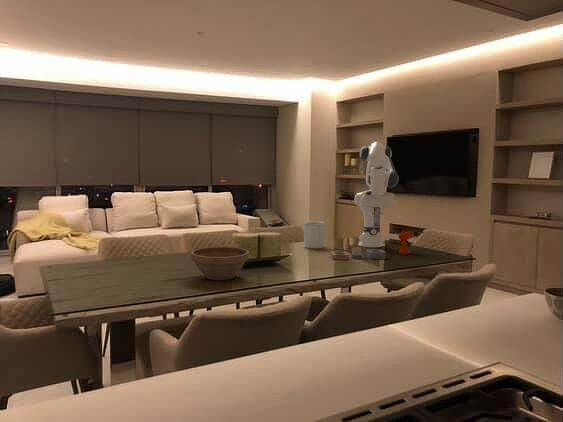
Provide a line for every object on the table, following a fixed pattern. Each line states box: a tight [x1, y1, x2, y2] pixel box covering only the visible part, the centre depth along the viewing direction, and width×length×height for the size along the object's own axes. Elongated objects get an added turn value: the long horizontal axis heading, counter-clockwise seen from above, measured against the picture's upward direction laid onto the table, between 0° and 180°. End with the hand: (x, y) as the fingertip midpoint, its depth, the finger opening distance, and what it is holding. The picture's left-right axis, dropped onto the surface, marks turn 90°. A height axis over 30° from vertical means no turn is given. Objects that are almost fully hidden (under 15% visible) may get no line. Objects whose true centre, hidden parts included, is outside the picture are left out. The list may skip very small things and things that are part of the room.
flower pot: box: [190, 246, 250, 281], centre depth 230 cm, size 28×28×13 cm
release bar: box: [351, 247, 362, 257], centre depth 286 cm, size 4×5×6 cm
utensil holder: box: [303, 221, 325, 249], centre depth 325 cm, size 15×15×18 cm
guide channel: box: [347, 252, 365, 260], centre depth 289 cm, size 14×8×1 cm, turn 1°
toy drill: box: [398, 230, 425, 255], centre depth 302 cm, size 5×19×15 cm, turn 103°
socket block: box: [365, 249, 387, 260], centre depth 286 cm, size 10×10×4 cm
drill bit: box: [373, 207, 381, 227], centre depth 284 cm, size 4×4×14 cm
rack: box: [330, 251, 350, 260], centre depth 284 cm, size 10×10×3 cm
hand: (376, 214), depth 284 cm, fingers closed on drill bit, 4 cm apart
